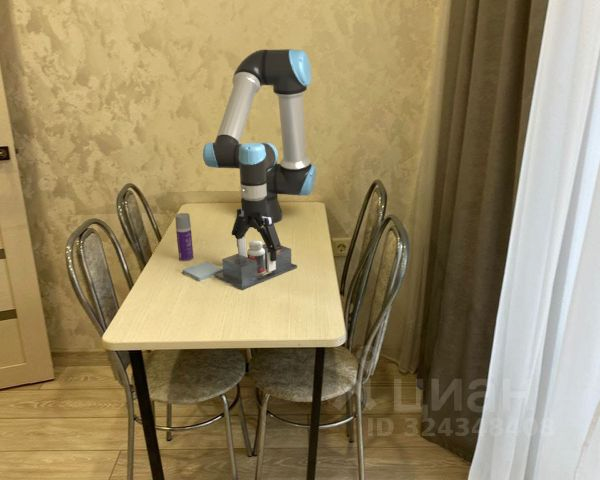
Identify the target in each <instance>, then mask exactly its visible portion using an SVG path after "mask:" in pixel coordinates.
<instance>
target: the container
mask: <svg viewBox="0 0 600 480" xmlns="http://www.w3.org/2000/svg"><path fill="white" fill-rule="evenodd" d="M174 216H175V219H174V221H175V233H176V242H177V253H178V260H179V261H180V262H191V261H192V260H194V249H193V247H194V246H193V239H192V238H193V236H192V235H193V234H192V224H191V218H190V217H191V216H190V214H189V213H187V212H181V213H177V214H175V215H174Z"/></svg>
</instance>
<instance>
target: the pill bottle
mask: <svg viewBox="0 0 600 480" xmlns="http://www.w3.org/2000/svg"><path fill="white" fill-rule="evenodd" d="M248 244H249V246H248V247H249V249H248V250H246V255H247V258H250V259H252V260H255V261H257V270H258V276H263V275H265V273H266V272H267V269H265V250H264V249H263V248H262V245H263V241H260V240H253V241H250V242H249V243H248Z"/></svg>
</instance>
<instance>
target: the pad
mask: <svg viewBox="0 0 600 480" xmlns="http://www.w3.org/2000/svg"><path fill="white" fill-rule="evenodd" d="M221 272H223V267H219V266H218V265H217V264H213V263H211V262H209V261H207V260H206V261H203V262H200V263H196V264H195V265H192V266H188V267H185V268H183V269H182V273H183V274H185V275H186V276H189V277H190V278H193V279H195V280H196V281H199V282H201V281H203V280H206V279H209V278H211V277H215V274H218V273H221Z"/></svg>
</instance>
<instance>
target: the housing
mask: <svg viewBox="0 0 600 480" xmlns="http://www.w3.org/2000/svg"><path fill="white" fill-rule="evenodd" d="M281 247H282V248H281V249H280V250H277V251H276V269H275V270H273V271H270V272H267V273H266V274H262V275H260V276H259V275H258V270H257V261H255V260H252V259H250V258H248V257H245V256H243V255H240V254H238V253H236V254H233V255H230V256H227V257H224V258H222V259H221V261H222V262H221V264H222V269H223V272H221V273H218V274H215V276H214V277H215V278H216V279H219V280H221V281H222V282H225V283H226V284H229V285H231V286H232V287H233V286H234V287H236V288H237V289H240V290H242V291H244V290H247V289H249V288H251V287H255V286H257V285H258V284H261V283H264V282H266V281H269V280H271V279H274V278H276V277H278V276H280V275H281V276H282V275H283V274H285V273H289V272H290V271H293V270H296V269H298V265H297V264H294V263H292V248H290V247H286V246H284V245H281ZM262 248H263V249H264V250H265V270H267V251H268V248H267V246H266V244H265V243H264V244H262Z"/></svg>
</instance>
